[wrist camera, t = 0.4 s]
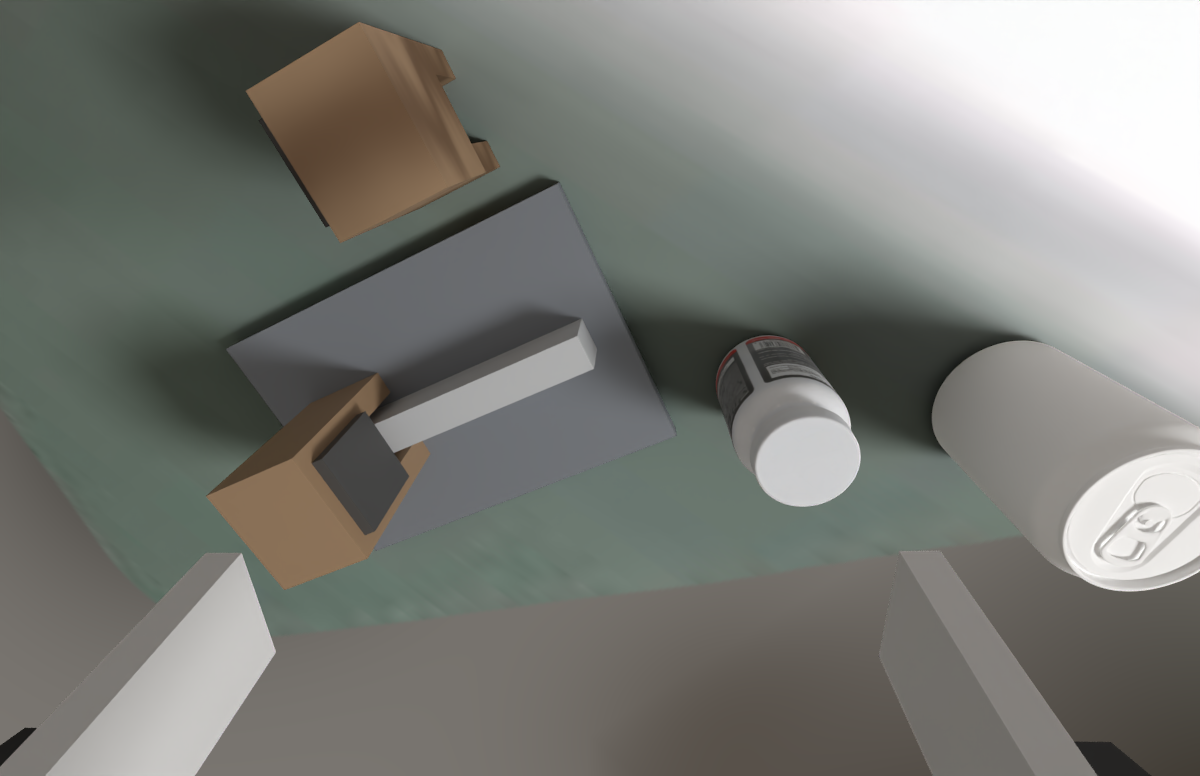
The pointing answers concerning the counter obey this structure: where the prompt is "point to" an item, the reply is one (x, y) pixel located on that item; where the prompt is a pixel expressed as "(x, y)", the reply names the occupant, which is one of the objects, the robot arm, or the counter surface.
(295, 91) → the notched tan block
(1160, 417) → the white piece
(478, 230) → the rail
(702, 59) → the counter surface
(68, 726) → the robot arm
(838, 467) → the pill bottle
